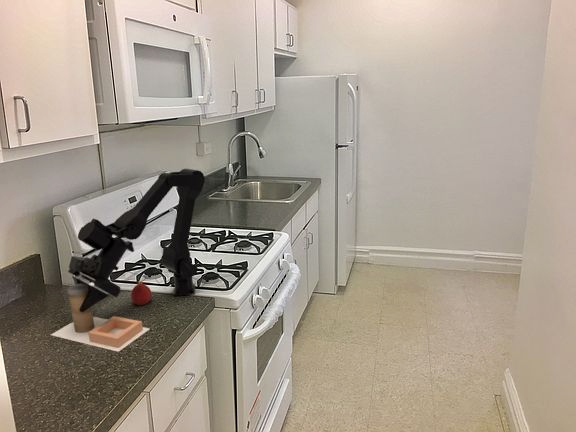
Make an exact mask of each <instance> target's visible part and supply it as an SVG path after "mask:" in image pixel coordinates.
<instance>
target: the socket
mask: <svg viewBox="0 0 576 432" xmlns="http://www.w3.org/2000/svg"><path fill="white" fill-rule="evenodd" d="M143 327H144V326H143V322H142V321H141V320H137V319H131V318H126V317H120V316H116V315H113V316H112V317H110V318H109V319H107V321H106V322H104V323H103V324H101V325H99V326H98V327H96V328H95V329H93V330H92V331H90V332H89V333H88V334H89V340H90V342H95V343H99V344H104V345H109V346H113V347H118V348H119V347H121V346H122V345H123V344H125V343H126V342H127V341H129V340H130V339H131V338H133V337H134V336H135V335H137V334H138V333H139V332H141V331H142V330H143ZM114 328H120V329H125V330H124V331H122V332H121V333H119V334H118V335H114V334H109V333H108V332H110V331H111V330H113V329H114Z"/></svg>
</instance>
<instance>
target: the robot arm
mask: <svg viewBox="0 0 576 432" xmlns="http://www.w3.org/2000/svg"><path fill="white" fill-rule="evenodd" d="M205 182H206V176H205V175H204V173H203V172H202V171H200V170H198V169H193V168H192V169H190V168H183V169H181V170H180V171H172V172H162V173H160V174H159V175H158V178H157V179H156V180H155V182H154V183H153V184H152V186H150V187H149V189H148V190H147V191H146V193H145V194H143V196H142V197H141V198H140V199H139V201H138V202H137V203H136V204H135V206H133V207H132V208H130V209H129V210H127V211H125V212H124V213H122V214H121V215H120V216H119V217H117V218H116V220H115V221H114V222H112V223H110V224H107V225H105V224H103V223H102V222H101V221H100V220H98V219H97V218H92V219H91V221H88V222H87V223H85V225H83V226H82V227H81V228H80V229H79V231H78V233H77V240H79V241H81V242H82V243H84V244H85V245H87V246H88V247H90V248H93V249H94V250H95V251H99V252H98V254H95V253H94V254H93V255H91V257H88V256H87V257H82V256H75V255H72V256H71V258H70V261H69V265H68V269H69V270H68V271H67V272H68V273H69V274H70V275H72V279H73V281H74V285H76V284H87V285H88V294H87V295H86V297H85V299H84V301H83V303H82V305H81V307H80V309H79V311H80V312H84V311H86V310H87V309H89V308H90V307H91V308H92V307H94V305H96V304H97V303H99V302H101V301H102V300H104V299H106V298H109V297H110V295H111V296H114V297H115V298H118V297H119V295H120V293H121V292H122V291H121V286H120V285H118V284H115V283H114V282H112V281H111V280H110V279H109V278H110V276H111V275H112V273H113V272H114V271H116V272H117V271H118V270H119V268H120V267H119V266H118V264H119V262H120V261H121V259H122V258H123V256H124V254H125V253H126V252H127V251H129V252H131V253H133V252H135V248H134V245H133V244H134V243H133V242H132V240H137V239H138V238H139V237H141V235H142V234H143V232H144V230H145V229H146V227H147V222H148V219H149V217H150V216H151V214H152V213H153V211H155V209H157V207H158V206H159V204H161V202H162V201H163V200H164V198H165V197H166V196H167V195H168V194H169V192H170V191H171V190H172V189H173V188H174V187H175V188H177V192H178V196H179V199H178V204H177V205H178V206H177V210H176V215H175V221H174V226H173V227H174V228H173V231H172V232H173V233H172V237H171V242H170V243H169V245H168V246H166V245H165V246H163V249H162V255H161V257H160V259H161V261H162V262H161V263H162V265H163V267H164V268H165V269H167V271H168V273H171V274H173V281H174V289H173V296H176V297H177V296H186V295H187V296H188V294H189V295H195V293H196V292H195V291H196V284H194V280H193V277H194V276H195V275H197V274H198V266H196V265H195V264H193V263H192V262H191V251H190V249H189V245H188V243H189V237H190V232H191V228H192V227H191V226H192V220H193V216H194V210H195V205H196V200H197V198H198V197H199V195H201V193H202V191H203V189H204V185H205ZM113 236H115V237H113ZM122 238H124V239H126V240H127V241H125V240H124V239H122ZM92 283H93V285H90V284H92Z"/></svg>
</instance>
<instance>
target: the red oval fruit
mask: <svg viewBox="0 0 576 432" xmlns="http://www.w3.org/2000/svg"><path fill="white" fill-rule="evenodd" d="M130 298H131V300H132V302H133V304H135V305H137V306H145V305H147V304H148V303H149V301H151V299H152V291H151V289H150V287H149V286H148V285H146V284H145V283H143V281H142V280H139V281H138V282H137V284H136V285H135V286H134V287H133V288H132V289H131V293H130Z"/></svg>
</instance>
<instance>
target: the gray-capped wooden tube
mask: <svg viewBox="0 0 576 432" xmlns="http://www.w3.org/2000/svg"><path fill="white" fill-rule="evenodd" d="M67 293H68V298H69V306H70V311H71V317H72V322H73V323H74V329H75V332H77V333H84V332H88V331H90V330H92V329H93V328H94V320H93V317H94V315H93V308H92V307H90V308H89V309H87V310H86V311H84V312H80V311H79V309H80V307H81V305H82V303H83V301H84V299H85V297H86V295H87V294H88V285H87V284H76V285H75V284H74V285H73V284H72V285H71V286H69V287H68V288H67Z"/></svg>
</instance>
